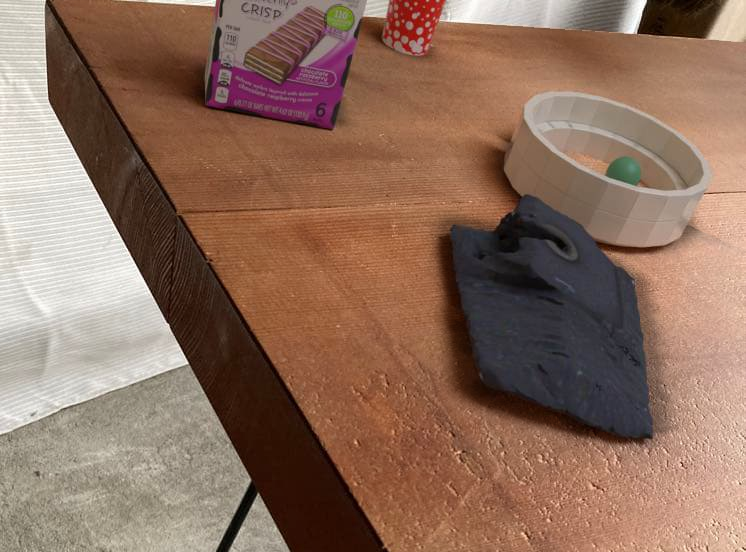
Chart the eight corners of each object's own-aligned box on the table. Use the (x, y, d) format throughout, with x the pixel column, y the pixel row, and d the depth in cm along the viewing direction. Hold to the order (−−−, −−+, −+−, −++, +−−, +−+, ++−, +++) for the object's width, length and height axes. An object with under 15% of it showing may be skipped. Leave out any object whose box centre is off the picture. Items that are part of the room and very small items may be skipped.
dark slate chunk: (433, 398, 62) (457, 338, 58) (446, 224, 77) (466, 168, 73) (660, 459, 63) (697, 404, 60) (630, 277, 78) (658, 224, 75)
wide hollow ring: (695, 205, 90) (726, 149, 86) (657, 280, 79) (691, 219, 75) (533, 131, 93) (556, 73, 89) (474, 193, 81) (497, 130, 77)
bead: (635, 191, 87) (650, 160, 85) (627, 204, 85) (643, 172, 83) (604, 177, 88) (619, 146, 86) (595, 189, 86) (610, 157, 83)
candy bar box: (204, 110, 80) (236, -120, 68) (202, 81, 83) (233, -142, 71) (337, 133, 83) (390, -83, 71) (330, 105, 86) (380, -106, 74)
